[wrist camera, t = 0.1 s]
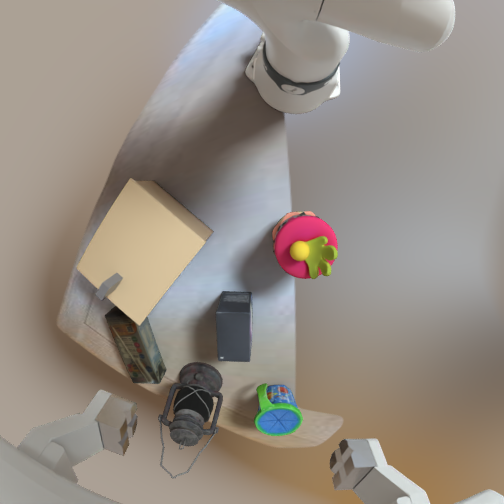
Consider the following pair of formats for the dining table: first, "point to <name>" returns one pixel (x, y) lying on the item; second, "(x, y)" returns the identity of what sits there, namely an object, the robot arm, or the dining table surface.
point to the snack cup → (277, 411)
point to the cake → (304, 245)
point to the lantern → (193, 406)
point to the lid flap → (138, 252)
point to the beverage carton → (136, 347)
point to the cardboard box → (177, 209)
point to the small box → (234, 326)
